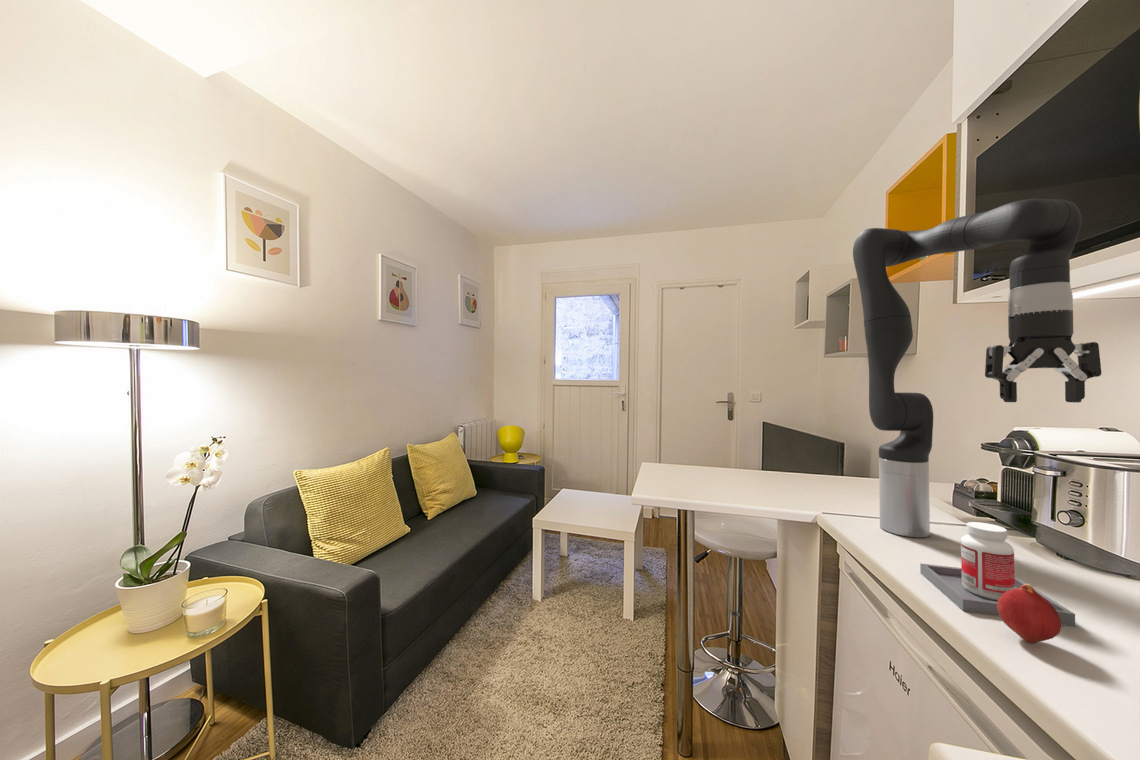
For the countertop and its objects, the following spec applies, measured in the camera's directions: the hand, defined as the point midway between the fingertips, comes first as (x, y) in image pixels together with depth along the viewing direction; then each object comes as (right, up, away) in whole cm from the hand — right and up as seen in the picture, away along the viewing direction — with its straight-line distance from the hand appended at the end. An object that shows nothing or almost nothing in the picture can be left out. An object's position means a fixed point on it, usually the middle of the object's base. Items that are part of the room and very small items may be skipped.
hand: (1040, 402), depth 71 cm
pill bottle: (-15, -32, -5) cm, 35 cm away
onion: (-21, -32, -16) cm, 42 cm away
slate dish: (-14, -32, -5) cm, 36 cm away
